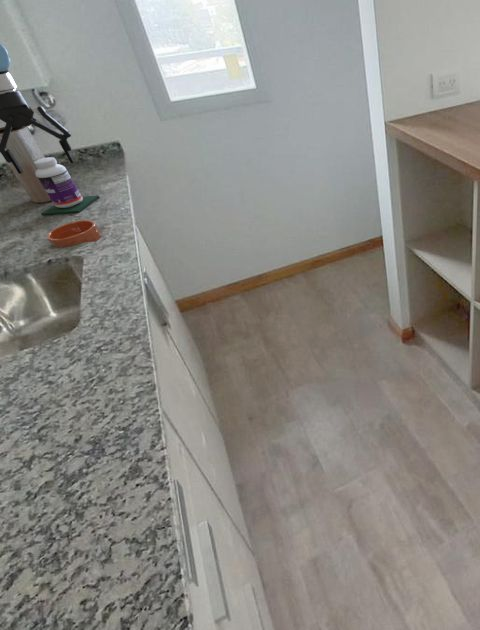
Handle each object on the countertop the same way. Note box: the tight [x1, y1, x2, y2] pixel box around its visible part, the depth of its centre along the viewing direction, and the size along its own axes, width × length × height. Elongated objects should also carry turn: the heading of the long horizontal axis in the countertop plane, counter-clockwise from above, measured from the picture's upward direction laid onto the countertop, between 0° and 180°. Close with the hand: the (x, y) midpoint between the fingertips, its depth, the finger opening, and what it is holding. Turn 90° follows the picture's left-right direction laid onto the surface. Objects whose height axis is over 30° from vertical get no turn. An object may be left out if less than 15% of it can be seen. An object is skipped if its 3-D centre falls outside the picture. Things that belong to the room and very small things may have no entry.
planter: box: [0, 126, 52, 204], centre depth 145 cm, size 10×10×23 cm
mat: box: [40, 195, 100, 217], centre depth 144 cm, size 12×12×1 cm
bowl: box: [46, 219, 102, 248], centre depth 122 cm, size 12×12×4 cm
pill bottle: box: [34, 156, 83, 208], centre depth 139 cm, size 8×8×14 cm
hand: (47, 167), depth 136 cm, fingers open, 13 cm apart
